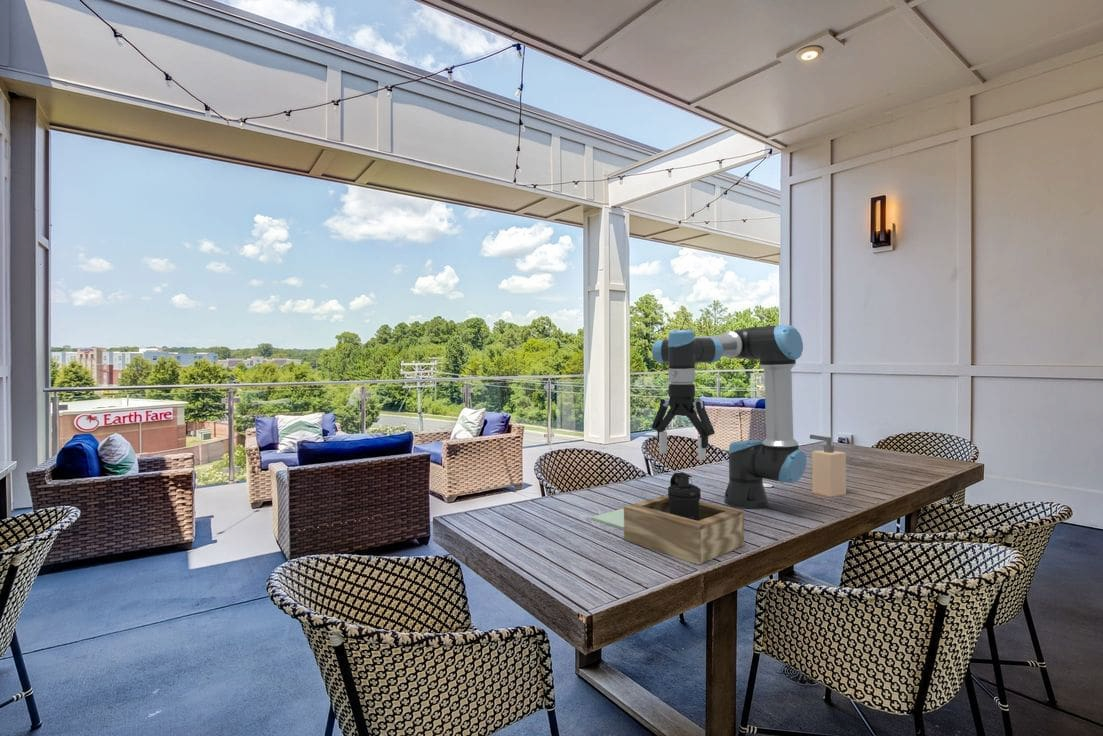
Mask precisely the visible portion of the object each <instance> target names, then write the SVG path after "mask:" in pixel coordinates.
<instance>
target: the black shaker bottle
mask: <svg viewBox="0 0 1103 736" xmlns="http://www.w3.org/2000/svg"><path fill="white" fill-rule="evenodd" d="M691 478H693V476H692V475H690V474H688V473H685V472H674V473H673V474H672V476H671V477H670V482H669V483H670V486H668V487H667V492H668V493H667V494H668V497H669V498H670V511H669V514H673V515H677V516H681V517H684V518H688V519H692V520H696V521H699V501H701V494H702V493H701V488H700V487H698V486H696V485H694V484H693V480H692V479H691ZM690 481H691V483H690Z"/></svg>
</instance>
